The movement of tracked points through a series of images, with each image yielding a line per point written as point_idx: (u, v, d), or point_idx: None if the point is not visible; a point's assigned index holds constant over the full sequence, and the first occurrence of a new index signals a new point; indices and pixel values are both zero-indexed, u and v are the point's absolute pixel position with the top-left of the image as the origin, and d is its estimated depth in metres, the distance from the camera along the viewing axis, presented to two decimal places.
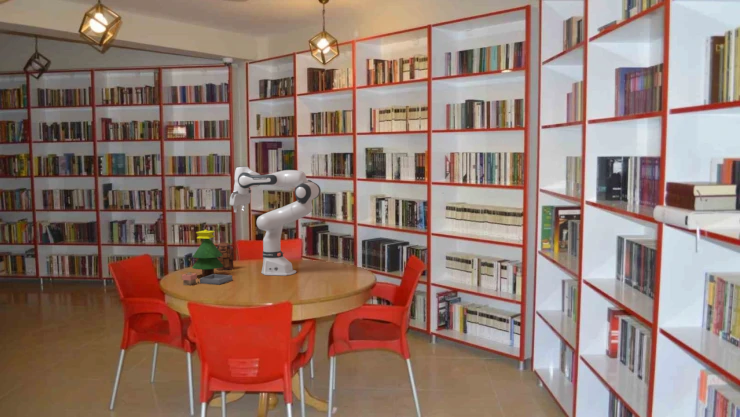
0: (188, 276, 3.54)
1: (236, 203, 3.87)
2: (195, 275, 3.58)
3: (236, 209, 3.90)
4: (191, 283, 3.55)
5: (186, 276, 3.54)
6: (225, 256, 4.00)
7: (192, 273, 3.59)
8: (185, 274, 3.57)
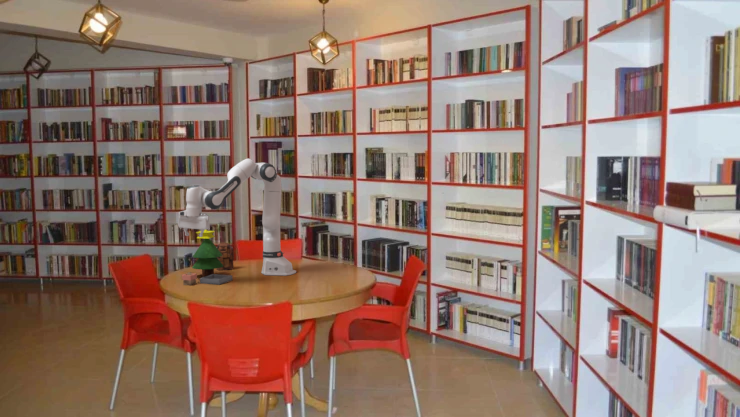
0: (188, 276, 3.54)
1: None
2: (195, 275, 3.58)
3: (202, 233, 3.56)
4: (191, 283, 3.55)
5: (186, 276, 3.54)
6: (225, 256, 4.00)
7: (192, 273, 3.59)
8: (185, 274, 3.57)
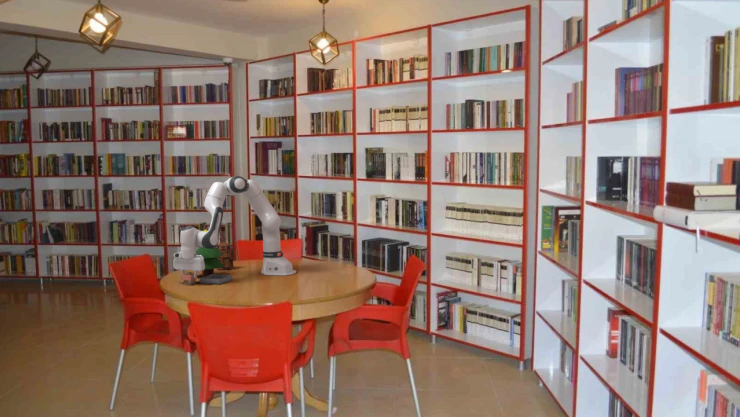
0: (188, 276, 3.54)
1: None
2: None
3: None
4: (191, 283, 3.55)
5: (186, 276, 3.54)
6: (225, 256, 4.00)
7: (192, 273, 3.59)
8: (185, 274, 3.57)
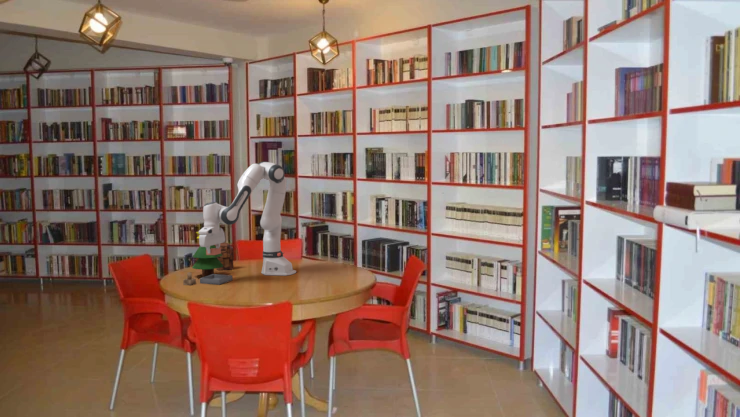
0: (219, 249, 3.62)
1: None
2: None
3: (216, 247, 3.66)
4: (191, 283, 3.55)
5: (217, 250, 3.61)
6: (225, 256, 4.00)
7: (210, 249, 3.63)
8: (212, 249, 3.60)
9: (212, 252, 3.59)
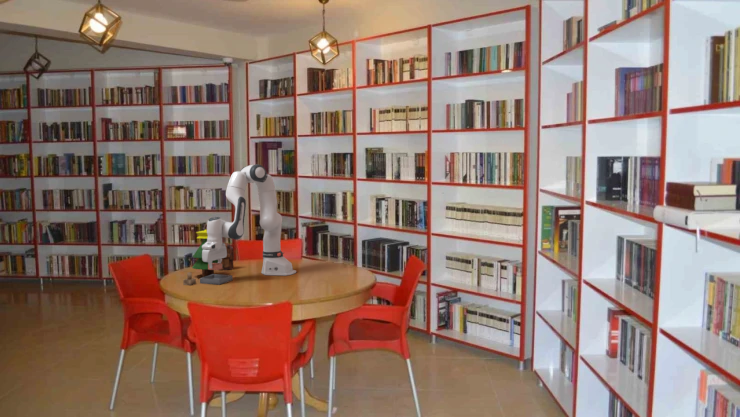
0: (221, 265, 3.64)
1: None
2: None
3: (218, 262, 3.67)
4: (191, 283, 3.55)
5: (219, 265, 3.62)
6: None
7: None
8: (214, 264, 3.61)
9: (214, 267, 3.60)
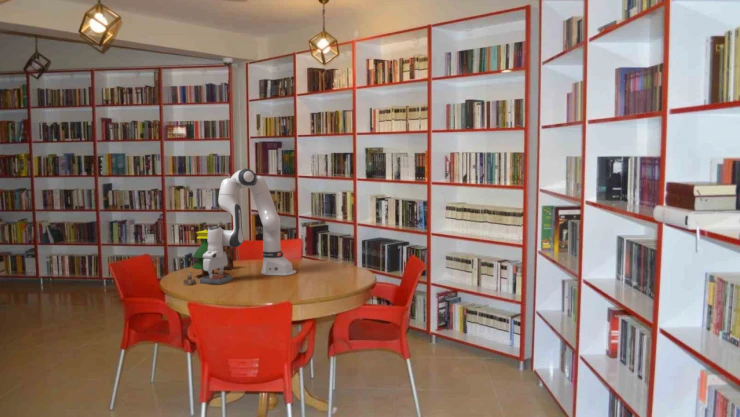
0: (222, 276, 3.64)
1: None
2: None
3: (220, 270, 3.69)
4: (191, 283, 3.55)
5: (220, 277, 3.63)
6: None
7: None
8: (215, 276, 3.61)
9: None
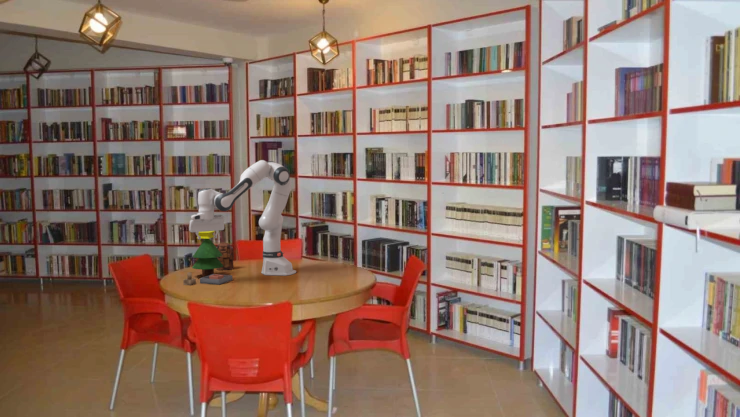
0: (222, 276, 3.64)
1: None
2: None
3: None
4: (191, 283, 3.55)
5: (220, 277, 3.63)
6: (225, 256, 4.00)
7: (212, 275, 3.65)
8: (215, 276, 3.61)
9: None
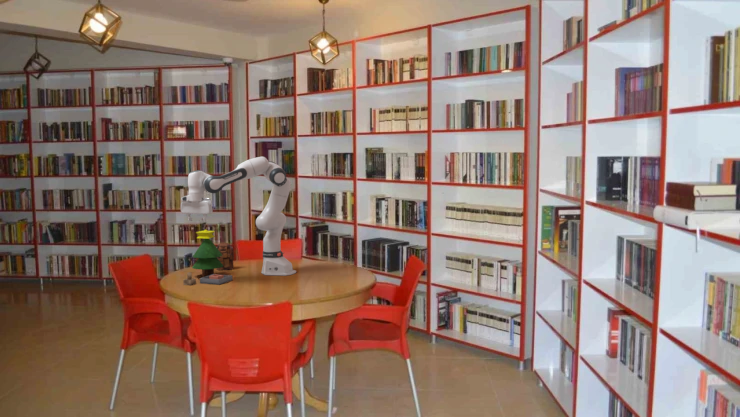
0: (222, 276, 3.64)
1: None
2: None
3: (205, 217, 3.57)
4: (191, 283, 3.55)
5: (220, 277, 3.63)
6: (225, 256, 4.00)
7: (212, 275, 3.65)
8: (215, 276, 3.61)
9: None
